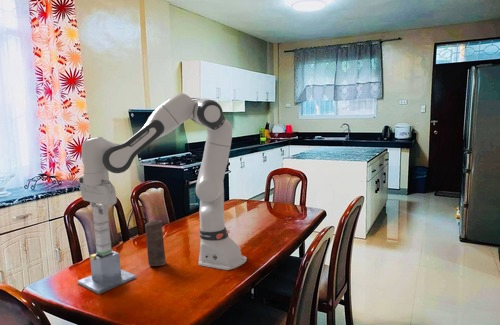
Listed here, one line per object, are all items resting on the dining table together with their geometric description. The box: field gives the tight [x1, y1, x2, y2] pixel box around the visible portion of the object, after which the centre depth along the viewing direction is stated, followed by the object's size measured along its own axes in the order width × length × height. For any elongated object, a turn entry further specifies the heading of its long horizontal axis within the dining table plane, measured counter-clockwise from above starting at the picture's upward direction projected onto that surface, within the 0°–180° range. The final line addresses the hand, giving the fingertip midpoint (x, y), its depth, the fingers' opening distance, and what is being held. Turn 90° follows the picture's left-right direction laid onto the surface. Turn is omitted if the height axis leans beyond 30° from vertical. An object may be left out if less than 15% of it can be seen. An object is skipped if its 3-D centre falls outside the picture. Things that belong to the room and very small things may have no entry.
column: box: [91, 204, 113, 258], centre depth 139 cm, size 4×4×22 cm
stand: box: [77, 250, 137, 295], centre depth 141 cm, size 16×16×12 cm
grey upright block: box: [144, 219, 167, 267], centre depth 154 cm, size 8×7×20 cm
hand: (100, 213), depth 138 cm, fingers open, 5 cm apart
